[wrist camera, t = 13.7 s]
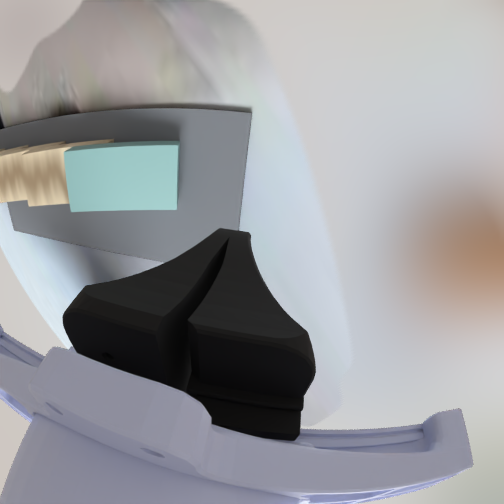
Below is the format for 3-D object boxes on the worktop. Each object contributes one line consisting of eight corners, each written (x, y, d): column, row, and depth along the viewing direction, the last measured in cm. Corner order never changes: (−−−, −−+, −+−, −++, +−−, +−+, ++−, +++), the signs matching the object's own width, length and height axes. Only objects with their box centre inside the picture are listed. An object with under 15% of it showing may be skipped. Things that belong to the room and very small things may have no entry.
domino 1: (63, 196, 21) (0, 202, 19) (70, 189, 22) (8, 195, 20) (57, 145, 18) (-8, 158, 16) (65, 141, 19) (2, 153, 18)
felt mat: (234, 272, 25) (233, 274, 25) (16, 228, 26) (14, 230, 26) (252, 113, 18) (251, 113, 17) (-1, 129, 19) (-3, 130, 19)
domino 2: (111, 201, 20) (28, 206, 18) (116, 193, 22) (37, 198, 20) (107, 142, 18) (20, 154, 16) (113, 138, 19) (30, 149, 17)
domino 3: (176, 209, 20) (71, 211, 18) (178, 200, 22) (78, 203, 20) (178, 145, 17) (63, 151, 16) (179, 140, 19) (72, 146, 17)
